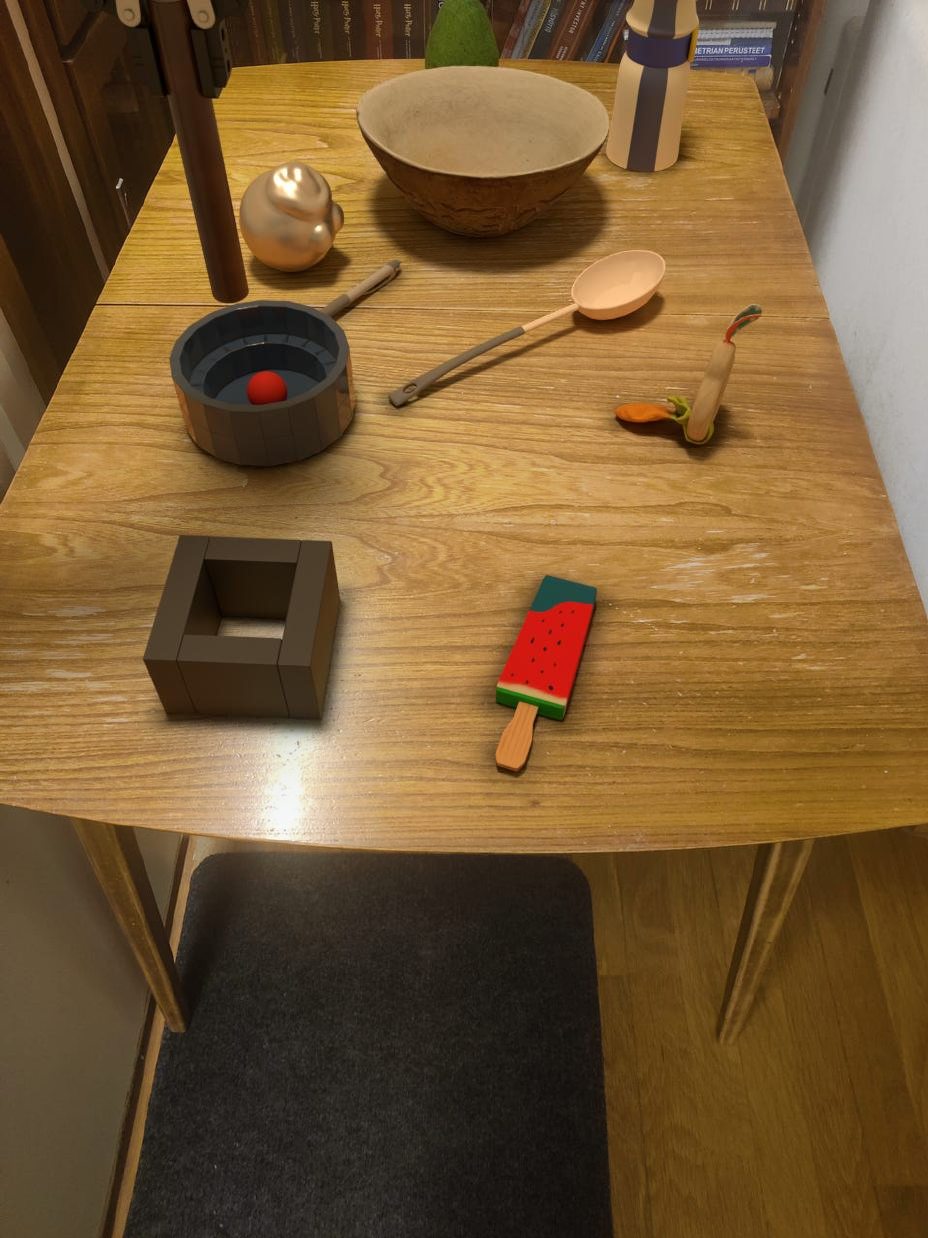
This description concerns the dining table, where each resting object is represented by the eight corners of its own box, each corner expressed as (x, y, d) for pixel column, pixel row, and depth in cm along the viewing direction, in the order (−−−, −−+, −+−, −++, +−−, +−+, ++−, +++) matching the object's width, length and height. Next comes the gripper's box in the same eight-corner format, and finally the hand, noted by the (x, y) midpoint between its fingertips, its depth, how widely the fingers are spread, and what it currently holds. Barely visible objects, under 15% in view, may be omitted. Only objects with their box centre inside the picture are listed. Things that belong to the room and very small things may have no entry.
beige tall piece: (659, 376, 85) (684, 254, 76) (743, 418, 82) (779, 296, 73) (608, 420, 81) (627, 298, 72) (694, 466, 78) (725, 345, 69)
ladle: (680, 300, 90) (684, 256, 86) (419, 456, 84) (410, 417, 80) (637, 265, 93) (638, 222, 89) (381, 414, 87) (371, 374, 83)
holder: (165, 713, 64) (142, 659, 59) (198, 592, 70) (179, 534, 65) (321, 720, 64) (310, 666, 59) (340, 598, 70) (332, 540, 65)
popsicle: (471, 750, 61) (539, 572, 70) (471, 762, 62) (538, 585, 71) (543, 772, 60) (603, 588, 69) (542, 783, 61) (601, 602, 70)
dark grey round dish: (169, 468, 78) (151, 408, 73) (205, 357, 86) (190, 297, 81) (344, 474, 77) (337, 414, 73) (363, 363, 86) (357, 302, 81)
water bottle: (682, 136, 110) (732, -140, 90) (680, 175, 105) (733, -108, 85) (607, 129, 111) (640, -145, 91) (602, 169, 106) (636, -114, 86)
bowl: (489, 125, 111) (491, 28, 103) (648, 215, 100) (664, 114, 92) (316, 199, 102) (304, 99, 94) (471, 307, 91) (473, 203, 83)
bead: (246, 419, 80) (240, 388, 78) (253, 393, 82) (247, 362, 80) (286, 421, 80) (281, 389, 78) (292, 395, 82) (287, 363, 80)
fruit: (466, 84, 117) (467, -32, 108) (511, 109, 114) (516, -8, 104) (412, 104, 114) (408, -13, 105) (456, 131, 110) (456, 12, 101)
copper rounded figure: (277, 305, 91) (260, 201, 83) (231, 255, 95) (211, 152, 87) (363, 274, 94) (355, 170, 86) (315, 227, 98) (303, 125, 91)
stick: (209, 303, 66) (139, 2, 52) (216, 281, 67) (151, -17, 53) (245, 304, 66) (185, 3, 51) (252, 282, 67) (196, -16, 53)
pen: (405, 271, 94) (404, 257, 93) (302, 344, 87) (300, 330, 86) (396, 267, 94) (395, 253, 93) (294, 339, 88) (292, 326, 87)
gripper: (-94, -311, 40) (46, 120, 54) (248, -306, 40) (302, 128, 54) (-29, -349, 45) (85, 58, 59) (279, -344, 45) (321, 64, 58)
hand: (189, 89), depth 56 cm, fingers closed on stick, 2 cm apart
